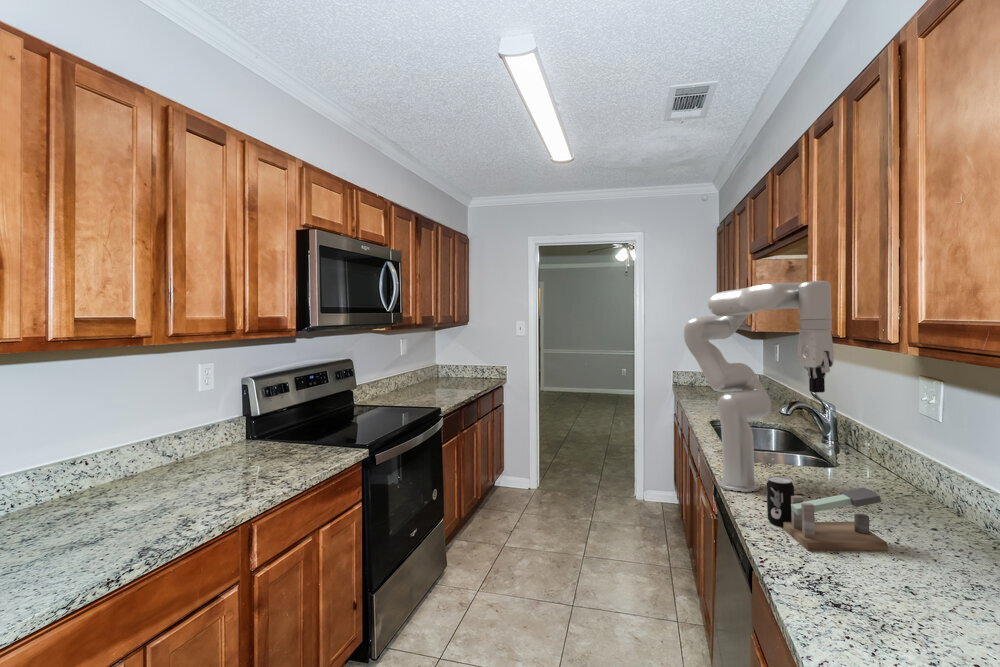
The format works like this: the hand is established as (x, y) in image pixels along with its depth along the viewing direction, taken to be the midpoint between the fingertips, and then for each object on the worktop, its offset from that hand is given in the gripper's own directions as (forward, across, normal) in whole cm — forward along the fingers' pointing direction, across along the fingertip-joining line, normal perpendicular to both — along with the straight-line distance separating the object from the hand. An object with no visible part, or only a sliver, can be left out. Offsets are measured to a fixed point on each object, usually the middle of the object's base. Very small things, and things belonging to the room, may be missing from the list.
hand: (817, 391), depth 136 cm
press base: (+35, +14, -4) cm, 38 cm away
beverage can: (+35, +4, -12) cm, 37 cm away
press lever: (+26, +14, -4) cm, 30 cm away
